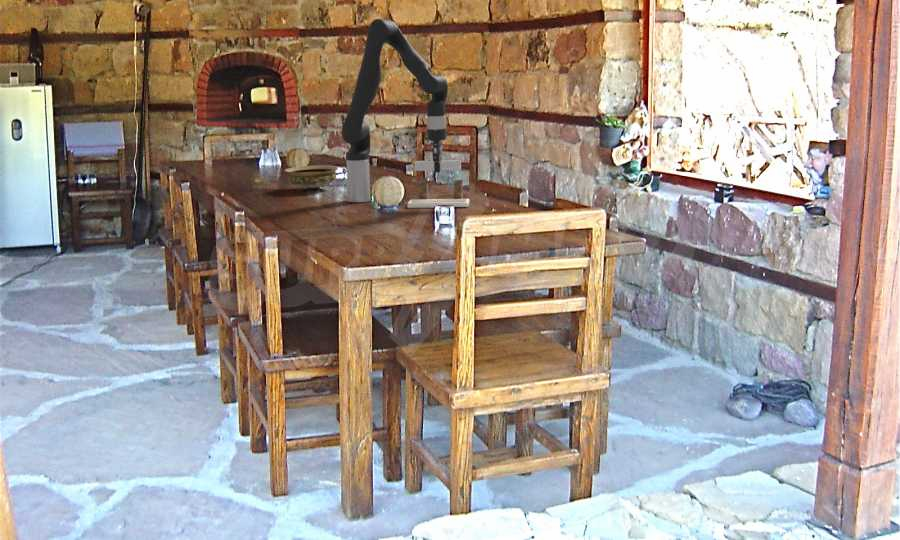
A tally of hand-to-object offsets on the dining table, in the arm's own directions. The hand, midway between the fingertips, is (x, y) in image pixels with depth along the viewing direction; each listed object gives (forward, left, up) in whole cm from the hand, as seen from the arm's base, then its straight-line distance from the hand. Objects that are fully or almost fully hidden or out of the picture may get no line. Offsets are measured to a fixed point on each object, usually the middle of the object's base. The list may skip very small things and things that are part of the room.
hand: (437, 171), depth 382 cm
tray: (0, 0, -14) cm, 14 cm away
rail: (0, 0, +1) cm, 1 cm away
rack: (0, +10, -14) cm, 17 cm away
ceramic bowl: (-63, +49, -14) cm, 81 cm away
